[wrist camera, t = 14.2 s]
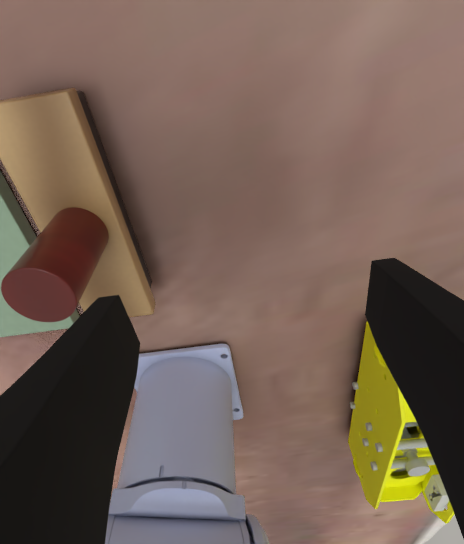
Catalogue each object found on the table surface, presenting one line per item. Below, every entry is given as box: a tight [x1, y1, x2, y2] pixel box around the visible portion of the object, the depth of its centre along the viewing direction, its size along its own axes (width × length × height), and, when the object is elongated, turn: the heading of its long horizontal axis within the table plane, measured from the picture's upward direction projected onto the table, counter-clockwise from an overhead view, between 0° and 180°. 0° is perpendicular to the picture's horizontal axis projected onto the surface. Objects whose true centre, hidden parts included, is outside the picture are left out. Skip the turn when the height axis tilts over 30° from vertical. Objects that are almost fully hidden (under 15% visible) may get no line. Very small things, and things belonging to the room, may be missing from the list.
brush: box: [0, 88, 155, 322], centre depth 16 cm, size 4×12×8 cm, turn 9°
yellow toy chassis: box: [348, 321, 454, 523], centre depth 25 cm, size 16×6×8 cm, turn 7°
